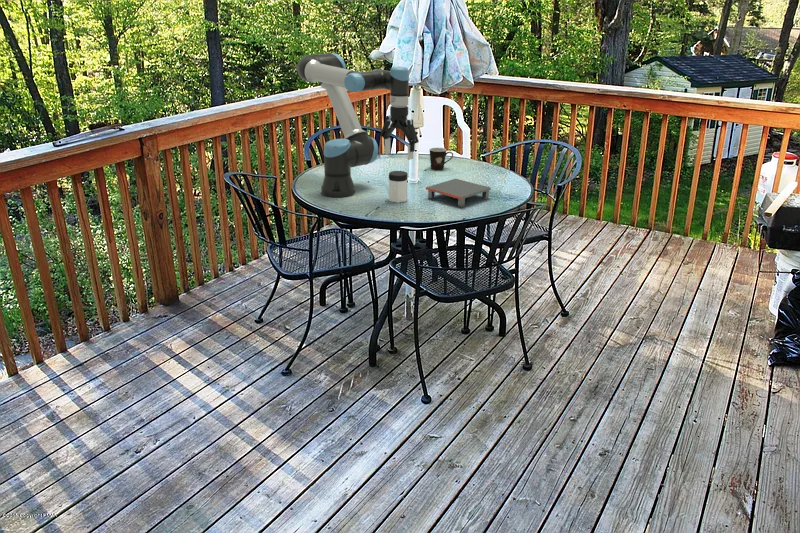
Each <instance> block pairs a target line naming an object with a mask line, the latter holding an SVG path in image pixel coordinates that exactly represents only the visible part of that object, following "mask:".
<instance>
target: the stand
mask: <svg viewBox="0 0 800 533" xmlns="http://www.w3.org/2000/svg"><path fill="white" fill-rule="evenodd" d="M425 190H426V191H427V192H428V194H427V198H428V199H430V200H433V199H435V196H436V195H435V194H436V193H437V194H440V195H444V196H447V197H452V199H453V200H455V201H458V202H457V207H458V208H465V205H466V204H465V202H466V201H465V200H466V198H470V197H473V196H477V195H479V194H482V195H481V199H483V200H488V199H489V195H490V190H491V191H492V188H491V187H490V186H486V185H482V184H478V183H475V182H472V181H467V180H462V179H460V178H459V179H458V178H453V179H450V180H446V181H443V182H440V183H436V184H433V185H430V186H426V187H425Z"/></svg>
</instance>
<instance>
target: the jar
mask: <svg viewBox="0 0 800 533" xmlns="http://www.w3.org/2000/svg"><path fill="white" fill-rule="evenodd" d="M408 175H409V174H408V172H407V171H404V170H391V171H390V172H388V201H389V202H391V203H392V202H393V203H397V204H399V203H405V202H407V201H408Z"/></svg>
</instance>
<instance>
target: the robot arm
mask: <svg viewBox="0 0 800 533" xmlns="http://www.w3.org/2000/svg"><path fill="white" fill-rule="evenodd" d="M296 70H297V74H298V76H299V78H300V79H301V80H303V81H305V82H309V83H317V82H319V85H320V87H321V89H324V90H325V92H326V94H327V97H328V99H329V100H330V104H331V106H332V108H333V112H334V113H335V115H336V118H337V121H338V123H339V127H340V128H341V130H342V133H343V136H344V138H334V139H330V140H328V141H326V142H325V144H324V145H323V164H324V170H323V172H324V178H323V180H322V185H321V188H320V191H321V192H320V193H321V195H323V196H325V197H330V198H345V197H350V196H353V195H354V194H355V192H356V189H355V188H356V187H355V185H354V181H353V179H352V176H351V173H352V172H351V168H356V167H360V166H361V167H362V166H366V165H368V164H373V163H374V162H375V161H376V160H377V158H378V154H379V145H378V143H377V141H376V139H375V138H373V137H371V136H369V134H368V132H367V131H366V130H364V129H363V128H362V126H361V123H360V121H359V118H358V116H357V114H356V113H357V112H356V111H355V108H354V106H353V103H352V100H351V99H350V96H349V94H348V92H350V93H359V92H367V91H368V92H369V91H376V90H377V91H378V90H389V91H390V92H389V94H390V98H389V99H390V100H389V101H390V102H389V103H390V108H389V110H390V111H389V115H385V120H384V123H383V125H382V128H381V131H380V134H379V136H380V137H382V139H383V146H384V155H389V154H391V135H392V134H393V133H394V131H395V129H398V130H401V131H402V132H403V134H404V136H405V138H406V140H407V142H408V143H407V160H414V152H415V145H416V144H418V143H419V139H418V135H417V132H416V128H415V126H414V119H408V115H409V89H410V88H409V86H410V85H409V82H410V75H409V69H408V67H406V66H391V68H390V70H385V69H381V68H379V69H372V70H370V71H369V70H368V71H357V70H352V69H347V68H346V63H345V60H344V59H343V57H342V56H340V54H337V53H335V52H334V53H333V52H332V53H330V52H327V53H317V54H307V55H303V57H301V58H300V60H299V61H298V62H297V66H296Z"/></svg>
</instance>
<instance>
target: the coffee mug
mask: <svg viewBox="0 0 800 533" xmlns="http://www.w3.org/2000/svg"><path fill="white" fill-rule="evenodd" d="M447 154H451V157H450V158H449V159H448V160H446V157H447ZM429 158H430V159H429V161H430V170H432V171H437V170H439V171H444V169H445V168H444V167H445V165H446V164H447V163H448V162H449V161H451V160H452V159H453V158H454V153H453V152H452V151H447V149H446V148H445V147H444V148H443V147H430V148H429Z"/></svg>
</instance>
